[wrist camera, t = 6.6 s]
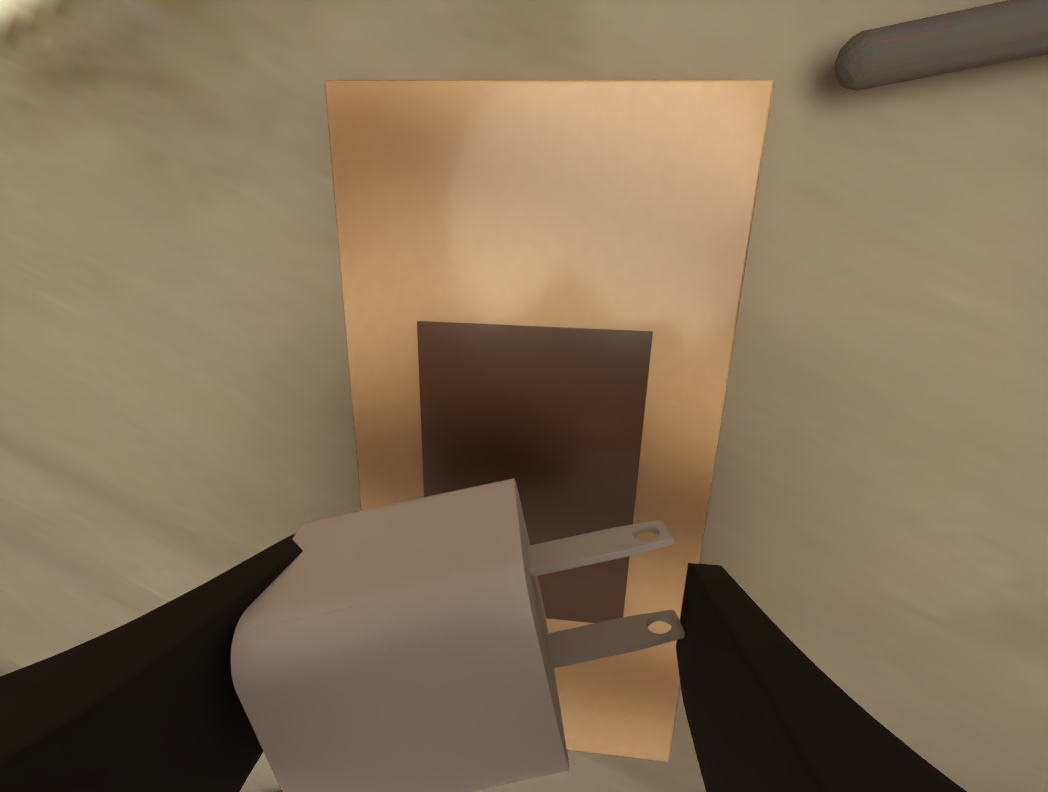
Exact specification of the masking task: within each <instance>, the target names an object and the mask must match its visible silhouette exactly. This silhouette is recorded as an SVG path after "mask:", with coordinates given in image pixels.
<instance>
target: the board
mask: <svg viewBox="0 0 1048 792" xmlns="http://www.w3.org/2000/svg"><path fill="white" fill-rule="evenodd" d="M773 84H774V81H773V80H326V81H325V92H326V104H327V115H328V127H329V139H330V150H331V162H332V173H333V185H334V197H335V208H336V220H337V232H338V243H339V255H340V267H341V278H342V290H343V302H344V313H345V325H346V337H347V348H348V360H349V372H350V383H351V395H352V407H353V418H354V430H355V442H356V453H357V465H358V477H359V488H360V500H361V511H362V510H366V509H371V508H376V507H381V506H385V505H390V504H395V503H400V502H404V501H409V500H414V499H419V498H423V497H428V496H433V495H438V494H442V493H447V492H452V491H457V490H461V489H466V488H471V487H476V486H480V485H485V484H490V483H495V482H499V481H504V480H509V479H513V478H514V479H515V482H516V485H517V489H518V493H519V498H520V502H521V507H522V511H523V516H524V520H525V525H526V529H527V533H528V538H529V542H530V545H535V544H539V543H544V542H549V541H553V540H558V539H563V538H567V537H572V536H577V535H581V534H586V533H591V532H596V531H600V530H605V529H610V528H615V527H621V526H627V525H633V524H639V523H645V522H651V521H657V520H660V521H663V523H664V524H665V526H666V528H667V529H668V531H669V533H670V534H671V536H672V537H673V539H674V543H673V544H672V545H670V546H666V547H662V548H658V549H654V550H650V551H647V552H643V553H639V554H635V555H631V556H627V557H623V558H619V559H614V560H609V561H605V562H600V563H595V564H590V565H586V566H581V567H576V568H571V569H567V570H562V571H557V572H553V573H548V574H543V575H538V576H537V578H538V583H539V587H540V591H541V596H542V601H543V605H544V610H545V615H546V621H547V626H548V632H549V633H553V632H557V631H562V630H566V629H571V628H576V627H580V626H585V625H590V624H594V623H599V622H604V621H608V620H613V619H618V618H622V617H627V616H633V615H640V614H646V613H653V612H659V611H666V610H674V611H675V612H676V614H677V616H678V618H679V620H680V615H681V608H682V601H683V594H684V588H685V581H686V574H687V567H688V563H695V564H699V562H700V555H701V549H702V542H703V536H704V529H705V523H706V517H707V510H708V504H709V497H710V491H711V484H712V478H713V471H714V465H715V459H716V452H717V446H718V439H719V433H720V426H721V420H722V413H723V407H724V400H725V394H726V388H727V381H728V375H729V368H730V362H731V355H732V349H733V342H734V336H735V329H736V323H737V317H738V310H739V304H740V297H741V291H742V284H743V278H744V271H745V265H746V259H747V252H748V246H749V239H750V233H751V226H752V220H753V213H754V207H755V200H756V194H757V188H758V181H759V175H760V168H761V162H762V155H763V149H764V142H765V136H766V129H767V123H768V117H769V110H770V104H771V97H772V91H773ZM656 537H658V535H657V534H656V533H652V532H643V533H640V534H638V535H636V536H635V537H634V538H636V539H638V540H641V541H648V540H652V539H655V538H656ZM671 628H672V626H671V625H670V624H668V623H666V622H663V621H657V622H653V623H651V624H650V625H649V626H648V629H649V630H650V631H651V632H653V633H656V634H663V633H666V632H668V631H669V630H670V629H671ZM676 642H677V640H675V641H671V642H668V643H664V644H661V645H657V646H653V647H650V648H646V649H642V650H639V651H634V652H629V653H624V654H620V655H615V656H610V657H606V658H601V659H596V660H592V661H587V662H582V663H578V664H573V665H568V666H563V667H559V668H554V669H555V676H556V682H557V689H558V695H559V702H560V708H561V715H562V721H563V728H564V734H565V741H566V747H567V750H574V751H582V752H591V753H599V754H607V755H615V756H624V757H632V758H640V759H648V760H656V761H665V762H668V761H669V755H670V749H671V742H672V736H673V729H674V723H675V717H676V710H677V704H678V697H679V691H680V684H681V683H680V677H679V669H678V662H677V654H676Z"/></svg>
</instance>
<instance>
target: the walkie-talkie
mask: <svg viewBox="0 0 1048 792" xmlns="http://www.w3.org/2000/svg"><path fill="white" fill-rule="evenodd" d="M1043 54H1048V0H1009V1H1004V2H999V3H994V4H990V5H985V6H980V7H975V8H971V9H966V10H961V11H956V12H952V13H947V14H942V15H937V16H933V17H928V18H923V19H918V20H914V21H909V22H904V23H899V24H895V25H890V26H885V27H880V28H876V29H871V30H866V31H862V32H860V33H858V34H857V35H855V36H853V37H852V38H851V39H850V40H849V41H848V42H847V43H846V44H845V45H844V46H843V47H842V48H841V50H840V52H839V55H838V57H837V59H836V62H835V74H836V78H837V79H838V81H839V82H840V84H841V85H842V86H843V87H844V88H847V89H852V90H861V89H866V88H872V87H877V86H882V85H887V84H892V83H898V82H903V81H908V80H913V79H918V78H924V77H929V76H934V75H939V74H944V73H950V72H955V71H960V70H965V69H970V68H976V67H981V66H986V65H991V64H996V63H1002V62H1007V61H1012V60H1017V59H1022V58H1028V57H1033V56H1038V55H1043Z"/></svg>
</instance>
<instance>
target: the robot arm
mask: <svg viewBox="0 0 1048 792" xmlns="http://www.w3.org/2000/svg"><path fill="white" fill-rule="evenodd" d="M295 534H296V533H295ZM295 534H293V535H291V536H289V537H287V538H285V539H283V540H282V541H280V542H278V543H276V544H274V545H272V546H271V547H269V548H267V549H265V550H263V551H262V552H260V553H258V554H256V555H255V556H253V557H251V558H249V559H247V560H246V561H244V562H242V563H240V564H239V565H237V566H235V567H233V568H231V569H230V570H228V571H226V572H224V573H222V574H221V575H219V576H217V577H215V578H213V579H212V580H210V581H208V582H206V583H204V584H203V585H201V586H199V587H197V588H195V589H193V590H191V591H189V592H187V593H185V594H184V595H182V596H180V597H178V598H176V599H174V600H172V601H170V602H168V603H166V604H164V605H162V606H160V607H158V608H157V609H155V610H153V611H151V612H149V613H147V614H145V615H143V616H141V617H139V618H137V619H135V620H133V621H131V622H129V623H127V624H125V625H122V626H120V627H118V628H116V629H114V630H112V631H110V632H107V633H105V634H103V635H101V636H99V637H96V638H94V639H92V640H89V641H87V642H85V643H83V644H80V645H78V646H76V647H74V648H71V649H69V650H67V651H64V652H62V653H60V654H57V655H55V656H52V657H50V658H47V659H45V660H42V661H40V662H37V663H35V664H32V665H29V666H27V667H24V668H22V669H19V670H16V671H14V672H11V673H9V674H6V675H3V676H1V677H0V792H239V791H240V790H241V788H242V786H243V784H244V783H245V781H246V779H247V777H248V776H249V774H250V772H251V771H252V769H253V767H254V766H255V764H256V763H257V761H258V759H259V758H260V756H261V754H262V753H263V749H262V747H261V745H260V742H259V740H258V738H257V736H256V734H255V732H254V729H253V727H252V725H251V723H250V721H249V719H248V717H247V714H246V712H245V710H244V708H243V706H242V704H241V701H240V699H239V697H238V695H237V693H236V690H235V687H234V684H233V680H232V674H231V647H232V641H233V636H234V632H235V629H236V626H237V624H238V621H239V619H240V618H241V616H242V614H243V613H244V611H245V610H246V609H247V608H248V607H249V606H250V605H251V604H252V603H253V602H254V601H255V600H256V599H257V598H258V597H259V596H260V595H261V594H262V593H263V592H264V591H265V589H266V588H267V587H268V586H269V585H270V584H271V583H272V582H273V581H274V580H275V579H276V578H277V577H278V576H279V575H280V574H281V573H282V572H283V571H284V570H285V569H286V568H287V567H288V566H289V565H290V564H291V563H292V562H293V561H294V560H295V559H296V558H297V557H298V556H299V555H300V554H301V553H302V552H303V550H302V549H301V548H300V547H299V546H298V545H297V544H296V543H295V542H294V540H293V537H294V536H295ZM680 622H681V624H682V626H683V629H684V632H685V636H684V638H682V639H679V640H677V642H676V654H677V662H678V669H679V677H680V683H681V690H682V697H683V703H684V707H685V711H686V715H687V719H688V723H689V727H690V731H691V735H692V739H693V743H694V747H695V750H696V754H697V758H698V762H699V766H700V770H701V774H702V777H703V781H704V785H705V789H706V792H967V791H965V790H964V789H963V788H961V787H960V786H958V785H957V784H956V783H954V782H953V781H952V780H950V779H949V778H948V777H946V776H945V775H944V774H942V773H941V772H940V771H939V770H937V769H936V768H935V767H933V766H932V765H931V764H930V763H928V762H927V761H926V760H924V759H923V758H922V757H921V756H919V755H918V754H917V753H916V752H914V751H913V750H912V749H911V748H909V747H908V746H907V745H906V744H905V743H903V742H902V741H901V740H900V739H899V738H897V737H896V736H895V735H894V734H893V733H891V732H890V731H889V730H888V729H886V728H885V727H884V726H883V725H882V724H880V723H879V722H878V721H877V720H876V719H874V718H873V717H872V716H871V715H870V714H869V713H867V712H866V711H865V710H864V709H863V708H862V707H861V706H859V705H858V704H857V703H856V702H855V701H854V700H853V699H851V698H850V697H849V696H848V695H847V694H846V693H845V692H844V691H843V690H842V689H841V688H840V687H838V686H837V685H836V684H835V683H834V682H833V681H832V680H831V679H830V678H829V677H828V676H827V675H826V674H824V673H823V672H822V671H821V670H820V669H819V668H818V667H817V666H816V665H815V664H814V663H813V662H812V661H811V660H810V659H809V658H808V657H807V656H806V655H805V654H804V653H803V652H802V651H801V650H800V649H799V648H798V647H797V646H796V645H795V644H794V643H793V642H792V641H791V640H790V639H789V638H788V637H787V636H786V635H785V634H784V633H783V632H782V631H781V630H780V629H779V628H778V627H777V626H776V625H775V624H774V623H773V622H772V621H771V619H770V618H769V617H768V616H767V615H766V614H765V613H764V612H763V611H762V610H761V609H760V608H759V607H758V606H757V604H756V603H755V602H754V601H753V600H752V599H751V598H750V597H749V596H748V595H747V594H746V592H745V591H744V590H743V589H742V588H741V587H740V586H739V585H738V584H737V583H736V581H735V580H734V579H733V578H732V577H731V576H730V575H729V574H728V573H727V572H726V571H725V570H724V569H723V567H722V566H719V565H707V564H695V563H688V567H687V574H686V581H685V588H684V594H683V601H682V608H681V615H680Z"/></svg>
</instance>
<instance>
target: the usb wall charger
mask: <svg viewBox="0 0 1048 792" xmlns="http://www.w3.org/2000/svg"><path fill="white" fill-rule="evenodd" d="M643 532H652V533H656V534H657V535H658V537H656V538H655V539H652V540H648V541H641V540H638V539H636V538H634V537H635V536H636V535H638V534H640V533H643ZM293 540H294V542H295V543H296V544H297V545H298V546H299V547H300V548H301V549H302V550H303V552H302V553H301V554H300V555H299V556H298V557H297V558H296V559H295V560H294V561H293V562H292V563H291V564H290V565H289V566H288V567H287V568H286V569H285V570H284V571H283V572H282V573H281V574H280V575H279V576H278V577H277V578H276V579H275V580H274V581H273V582H272V583H271V584H270V585H269V586H268V587H267V588H266V589H265V591H264V592H263V593H262V594H261V595H260V596H259V597H258V598H257V599H256V600H255V601H254V602H253V603H252V604H251V605H250V606H249V607H248V608H247V609H246V610H245V611H244V613H243V614H242V616H241V618H240V619H239V621H238V624H237V626H236V629H235V632H234V636H233V641H232V647H231V674H232V680H233V684H234V687H235V690H236V693H237V695H238V697H239V699H240V701H241V704H242V706H243V708H244V710H245V712H246V714H247V717H248V719H249V721H250V723H251V725H252V727H253V729H254V732H255V734H256V736H257V738H258V740H259V742H260V745H261V747H262V749H263V751H264V753H265V755H266V757H267V760H268V762H269V764H270V766H271V768H272V770H273V773H274V775H275V777H276V779H277V781H278V783H279V785H280V788H281V790H282V792H470V791H475V790H480V789H484V788H489V787H494V786H498V785H503V784H508V783H512V782H517V781H522V780H526V779H531V778H535V777H540V776H545V775H549V774H554V773H559V772H563V771H568V770H569V761H568V754H567V747H566V741H565V734H564V728H563V721H562V715H561V708H560V702H559V695H558V689H557V682H556V676H555V669H554V668H559V667H563V666H568V665H573V664H578V663H582V662H587V661H592V660H596V659H601V658H606V657H610V656H615V655H620V654H624V653H629V652H634V651H639V650H642V649H646V648H650V647H653V646H657V645H661V644H664V643H668V642H671V641H675V640H679V639H682V638H684V636H685V632H684V629H683V626H682V624H681V622H680V620H679V618H678V616H677V614H676V612H675V611H674V610H666V611H659V612H653V613H646V614H640V615H633V616H627V617H622V618H618V619H613V620H608V621H604V622H599V623H594V624H590V625H585V626H580V627H576V628H571V629H566V630H562V631H557V632H553V633H549V632H548V626H547V621H546V615H545V610H544V605H543V601H542V596H541V591H540V587H539V583H538V578H537V576H538V575H543V574H548V573H553V572H557V571H562V570H567V569H571V568H576V567H581V566H586V565H590V564H595V563H600V562H605V561H609V560H614V559H619V558H623V557H627V556H631V555H635V554H639V553H643V552H647V551H650V550H654V549H658V548H662V547H666V546H670V545H672V544H673V543H674V539H673V537H672V536H671V534H670V533H669V531H668V529H667V528H666V526H665V524H664V523H663V521H660V520H657V521H651V522H645V523H639V524H633V525H627V526H621V527H615V528H610V529H605V530H600V531H596V532H591V533H586V534H581V535H577V536H572V537H567V538H563V539H558V540H553V541H549V542H544V543H539V544H535V545H530V542H529V538H528V533H527V529H526V525H525V520H524V516H523V511H522V507H521V502H520V498H519V493H518V489H517V485H516V482H515V479H514V478H513V479H509V480H504V481H499V482H495V483H490V484H485V485H480V486H476V487H471V488H466V489H461V490H457V491H452V492H447V493H442V494H438V495H433V496H428V497H423V498H419V499H414V500H409V501H404V502H400V503H395V504H390V505H385V506H381V507H376V508H371V509H366V510H362V511H357V512H352V513H347V514H343V515H338V516H333V517H329V518H324V519H319V520H314V521H310V522H305V523H304V524H302V525H301V527H300V528H299V530H298V531H297V533H296V534H295V536H294V537H293ZM657 621H663V622H666V623H668V624H670V625H671V626H672V628H671V629H670V630H669V631H668V632H666V633H663V634H656V633H653V632H651V631H650V630H649V629H648V626H649V625H650V624H651V623H653V622H657Z"/></svg>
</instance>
